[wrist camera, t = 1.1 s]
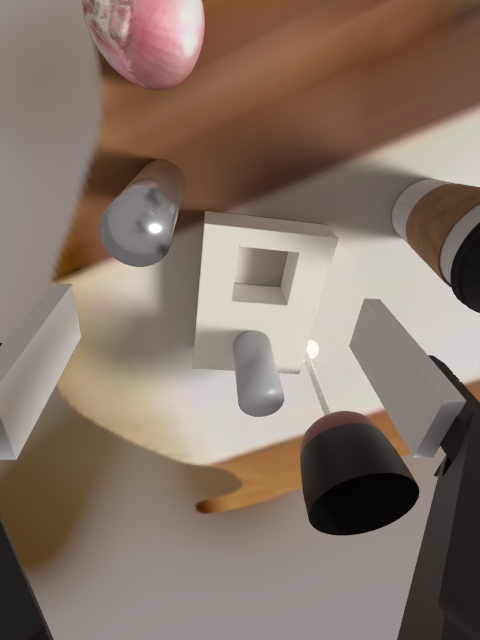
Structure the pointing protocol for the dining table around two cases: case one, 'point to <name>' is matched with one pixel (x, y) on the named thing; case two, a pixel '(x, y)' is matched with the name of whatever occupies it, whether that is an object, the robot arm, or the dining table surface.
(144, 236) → the pipe
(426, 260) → the coffee cup
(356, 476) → the wineglass
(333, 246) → the socket block
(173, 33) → the red onion
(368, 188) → the dining table surface
